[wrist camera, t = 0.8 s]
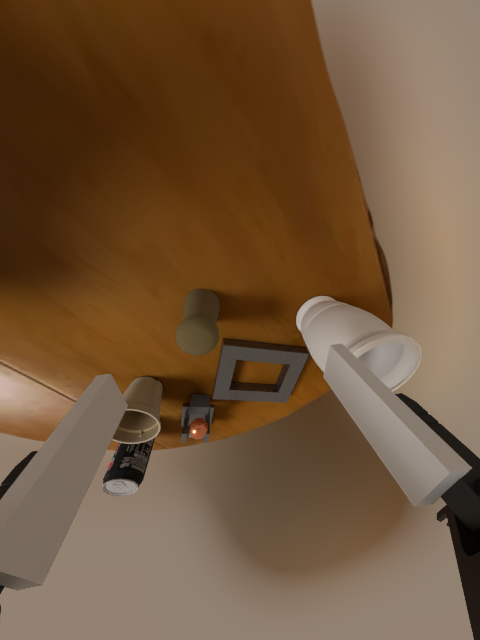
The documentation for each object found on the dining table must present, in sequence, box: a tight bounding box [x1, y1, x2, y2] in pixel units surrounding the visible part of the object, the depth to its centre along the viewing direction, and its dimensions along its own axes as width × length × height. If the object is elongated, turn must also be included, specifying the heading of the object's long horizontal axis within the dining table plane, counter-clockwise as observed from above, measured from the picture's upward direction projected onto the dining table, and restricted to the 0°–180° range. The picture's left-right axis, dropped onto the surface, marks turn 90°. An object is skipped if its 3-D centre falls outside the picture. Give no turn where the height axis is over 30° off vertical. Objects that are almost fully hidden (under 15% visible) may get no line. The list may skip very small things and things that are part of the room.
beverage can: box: [102, 438, 155, 496], centre depth 38 cm, size 7×7×12 cm
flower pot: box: [112, 377, 163, 444], centre depth 34 cm, size 9×9×9 cm
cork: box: [176, 289, 220, 356], centre depth 26 cm, size 6×6×11 cm
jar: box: [296, 296, 422, 392], centre depth 28 cm, size 11×10×15 cm
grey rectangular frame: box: [213, 338, 309, 402], centre depth 38 cm, size 17×14×2 cm
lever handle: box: [188, 418, 208, 439], centre depth 35 cm, size 15×3×3 cm, turn 168°
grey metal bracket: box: [181, 403, 214, 442], centre depth 41 cm, size 7×7×6 cm
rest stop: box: [189, 394, 210, 415], centre depth 40 cm, size 4×2×3 cm, turn 78°
